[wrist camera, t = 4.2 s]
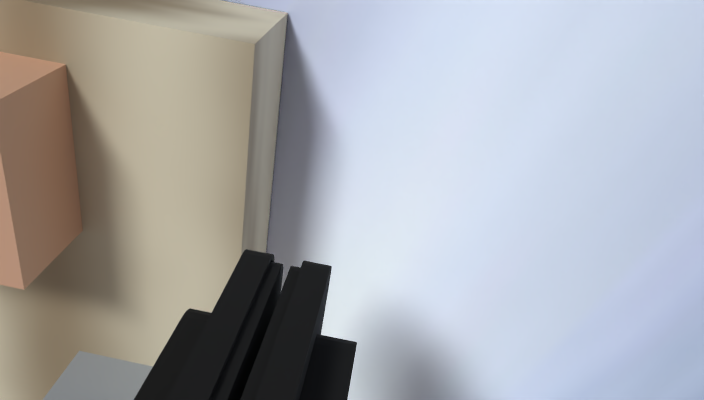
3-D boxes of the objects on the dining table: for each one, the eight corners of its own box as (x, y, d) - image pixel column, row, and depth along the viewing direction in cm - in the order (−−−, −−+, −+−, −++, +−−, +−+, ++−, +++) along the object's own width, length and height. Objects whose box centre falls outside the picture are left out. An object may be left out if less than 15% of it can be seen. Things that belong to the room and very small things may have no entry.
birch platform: (287, 12, 15) (254, 44, 12) (250, 427, 23) (225, 499, 21) (-88, -57, 15) (-195, -41, 13) (5, 374, 24) (-50, 437, 21)
